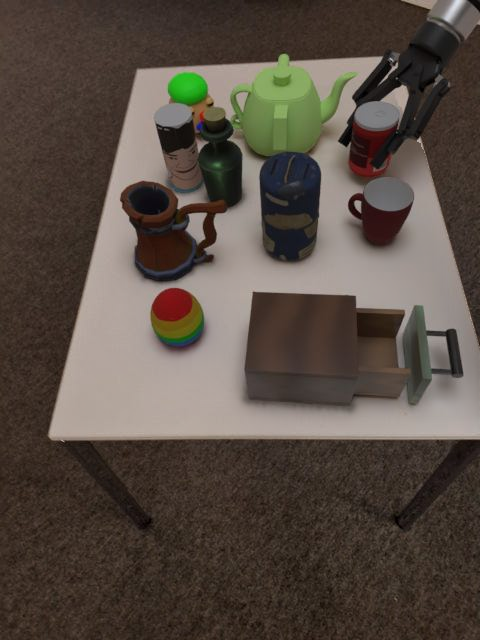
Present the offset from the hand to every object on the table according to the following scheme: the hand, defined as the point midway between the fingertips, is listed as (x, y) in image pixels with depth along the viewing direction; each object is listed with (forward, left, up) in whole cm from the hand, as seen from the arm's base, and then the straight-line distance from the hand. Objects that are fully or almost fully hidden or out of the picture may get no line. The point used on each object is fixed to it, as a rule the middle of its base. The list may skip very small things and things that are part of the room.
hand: (357, 155), depth 89 cm
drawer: (-37, +18, -5) cm, 41 cm away
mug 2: (-13, +5, -6) cm, 15 cm away
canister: (-8, +19, -6) cm, 21 cm away
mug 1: (-2, +37, -6) cm, 37 cm away
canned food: (+1, -3, -4) cm, 5 cm away
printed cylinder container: (+17, +29, -6) cm, 34 cm away
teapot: (+18, +4, -6) cm, 20 cm away
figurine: (+31, +21, -6) cm, 38 cm away
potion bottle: (+9, +24, -6) cm, 26 cm away
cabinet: (-30, +29, -6) cm, 42 cm away
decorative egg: (-16, +43, -6) cm, 46 cm away
